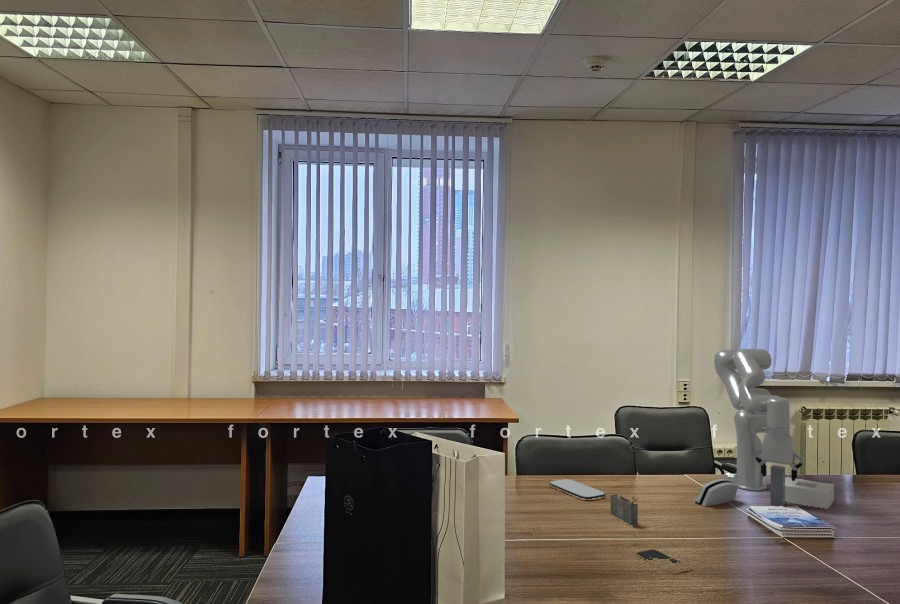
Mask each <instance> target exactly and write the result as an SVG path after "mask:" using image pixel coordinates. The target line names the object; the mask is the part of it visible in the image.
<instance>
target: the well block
mask: <svg viewBox="0 0 900 604" xmlns="http://www.w3.org/2000/svg"><path fill="white" fill-rule="evenodd" d="M833 500H835V484H832V483H826V482H822V481H821V482H819V481H814V480H808V479H802V478H797V479H795V481H792V477H789V476H785V503H791V504H796V505H801V504H802V506H806V505H808V506H807V507H811V506H814V507H813V508H817V507H820V508H819V509H822V508H825V509H824V510H827V509H828V508H829V509H830V507H831V506H832V504H833V503H834V501H833ZM832 502H833V503H832ZM830 505H831V506H830Z"/></svg>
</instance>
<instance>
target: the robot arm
mask: <svg viewBox="0 0 900 604" xmlns="http://www.w3.org/2000/svg"><path fill="white" fill-rule="evenodd" d="M772 360H773V359H772V357H771V354H770V353H769V352H768V351H767V350H766V349H761V348H742V349H723V350H719V351H718V352H716V353H715V355H714V357H713V365H714V368H715V369H714V370H715V372H716V373H717V375H718V377H719V378H720V380H721V381H722V384H723V385H724V387H725V389H726V393H727V395H728V397H729V401H730V403H731V405H732V407H733V408H734V409H736V410H737V411H736V412H735V413H734V416H733V421H734V426H735V433H736V473H735V472H734V473H732V472H731V473H730V472H725V477H726V478H727V479H728V480H731V479H732V482H733V483H735V484H736V485H737V486H738V488H737V489H742V490H747V491H753V492H754V491H755V492H758V491H759V492H760V491H762V492H763V491H766V490H767V489H768V486H767V484H766V483H764V477H765V478H766V476H767V473H768V472H767V471H768V470H767V463H774V464H779V465H789V466H790V467H791V473H790V474H791V478H792V481H795V479H798V469H799V468H801V467H802V466H803V464H805V462H806V458H805V457H803V456H801V455H800V454H799V453H797V452H795V445H794V440H793V436H792V435H791V428H790V427H791V425H790V424H791V422H790V421H791V420H790V418H791V417H790V413H791V412H790V401H789V400H788V399H787V398H783V397H781V396H779V395H774V394H773V395H772V393H771V392H770V391H769V390H767V389H766V388H760V387H759V386H760V385H762V384H763V383H764V382H765V380H766V374H765V371H764V370H768V369H770V367H771V366H772ZM736 370H737V371H736ZM760 433H761V434H764V435H763V440H761V439H760V437H759V436H758V434H760ZM795 458H796V459H798V461H799V462H798V463H797V464H796V462H795Z"/></svg>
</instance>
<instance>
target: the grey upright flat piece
mask: <svg viewBox="0 0 900 604" xmlns="http://www.w3.org/2000/svg"><path fill="white" fill-rule="evenodd" d="M636 501H638V497H636V496H635V495H633V496H631V500H630V499H628V498H626V497H624V496H622V495H619V497H618V493H615V494H610V515H611V514H612V515H614V516H615V517H617V518H619V519H621V520H623V521H624V522H626V523H628V524H629V525H638V524H639V523H638V520H639V519H638V517H639V516H638V514H639V513H638V512H639V511H638V508H639V507H638V505H639V504H638V503H635V502H636ZM629 525H628V526H629Z"/></svg>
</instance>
